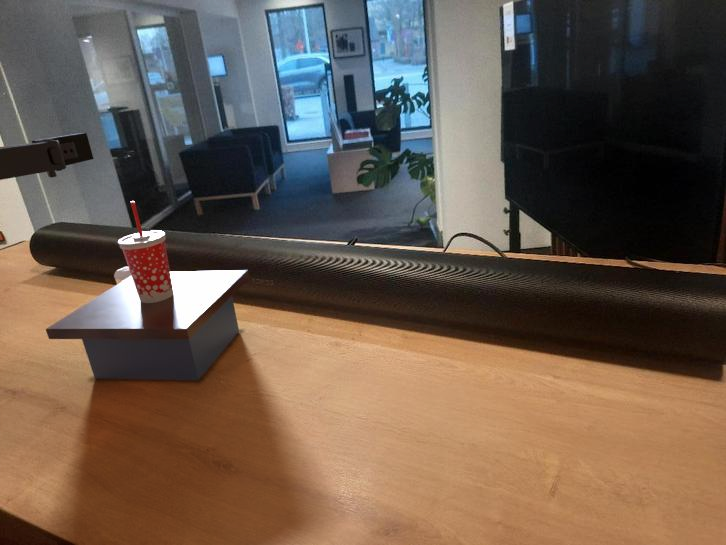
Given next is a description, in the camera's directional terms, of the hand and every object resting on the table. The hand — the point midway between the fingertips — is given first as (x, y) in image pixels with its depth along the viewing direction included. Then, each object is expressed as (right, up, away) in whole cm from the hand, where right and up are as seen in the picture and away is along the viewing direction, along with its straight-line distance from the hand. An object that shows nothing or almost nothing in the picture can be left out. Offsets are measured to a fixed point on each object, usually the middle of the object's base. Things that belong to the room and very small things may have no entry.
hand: (31, 150), depth 53 cm
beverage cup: (+6, -17, +18) cm, 26 cm away
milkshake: (-5, -21, +37) cm, 43 cm away
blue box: (+7, -25, +22) cm, 34 cm away
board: (+6, -18, +19) cm, 27 cm away
